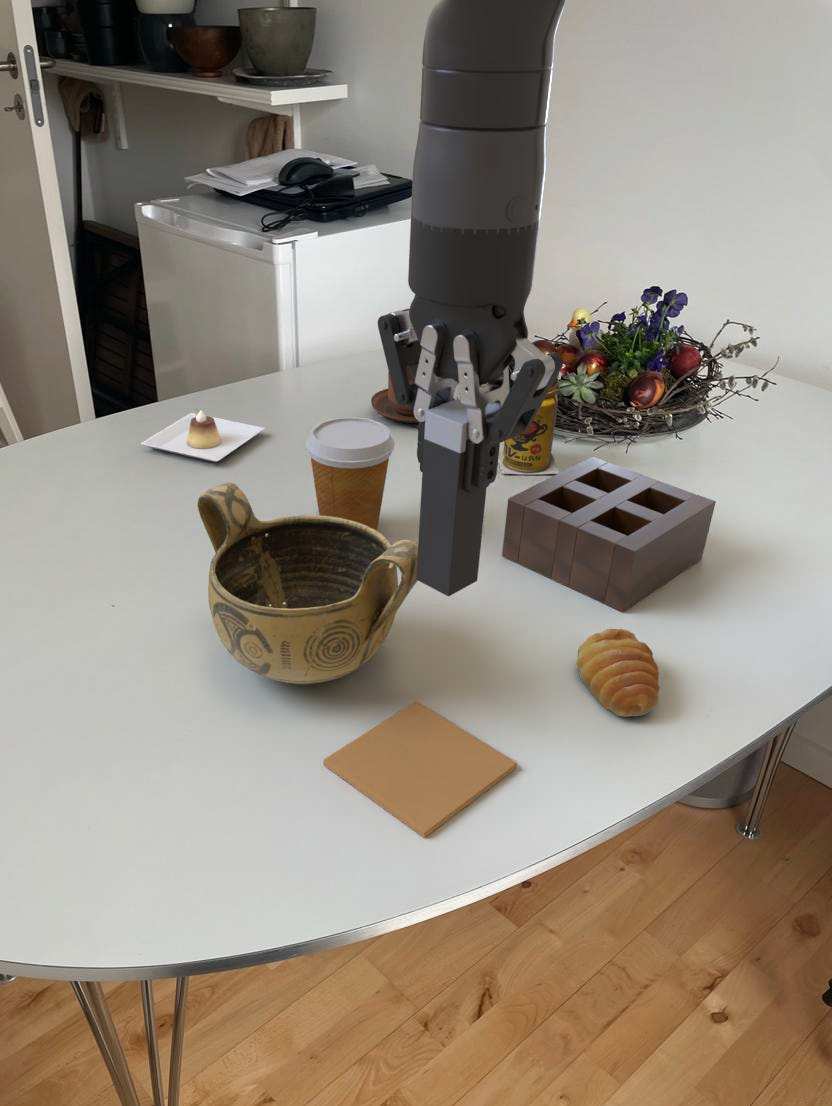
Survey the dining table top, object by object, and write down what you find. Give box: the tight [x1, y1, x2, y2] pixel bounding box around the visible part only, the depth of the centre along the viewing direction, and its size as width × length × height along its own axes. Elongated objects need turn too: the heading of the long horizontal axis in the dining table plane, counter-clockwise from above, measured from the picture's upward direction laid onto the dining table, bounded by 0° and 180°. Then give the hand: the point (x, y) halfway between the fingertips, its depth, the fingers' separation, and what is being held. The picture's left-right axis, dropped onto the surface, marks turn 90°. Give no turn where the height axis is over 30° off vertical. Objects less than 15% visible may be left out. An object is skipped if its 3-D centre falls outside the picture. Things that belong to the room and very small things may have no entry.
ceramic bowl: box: [197, 481, 419, 685], centre depth 85 cm, size 22×17×15 cm
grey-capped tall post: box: [416, 398, 487, 597], centre depth 67 cm, size 3×3×13 cm
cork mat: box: [322, 700, 518, 838], centre depth 78 cm, size 11×11×1 cm
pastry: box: [576, 628, 660, 718], centre depth 85 cm, size 9×7×4 cm
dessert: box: [140, 409, 266, 463], centre depth 128 cm, size 12×12×5 cm
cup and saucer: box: [370, 365, 456, 424], centre depth 137 cm, size 12×12×6 cm
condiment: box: [497, 376, 561, 476], centre depth 122 cm, size 7×8×12 cm
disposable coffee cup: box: [305, 416, 395, 531], centre depth 106 cm, size 10×10×12 cm
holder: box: [501, 456, 717, 613], centre depth 103 cm, size 15×15×7 cm
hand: (454, 478), depth 66 cm, fingers closed on grey-capped tall post, 3 cm apart
